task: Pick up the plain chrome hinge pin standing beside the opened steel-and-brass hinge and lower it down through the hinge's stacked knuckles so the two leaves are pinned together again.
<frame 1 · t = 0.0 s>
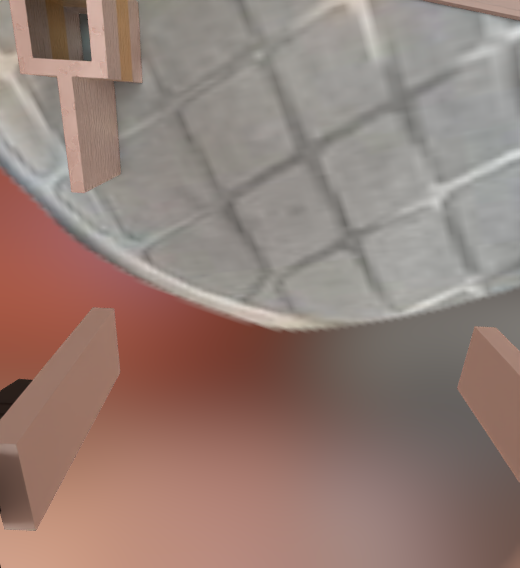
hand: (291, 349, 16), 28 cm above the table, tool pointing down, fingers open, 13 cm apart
hinge: (105, 42, 37), on the table
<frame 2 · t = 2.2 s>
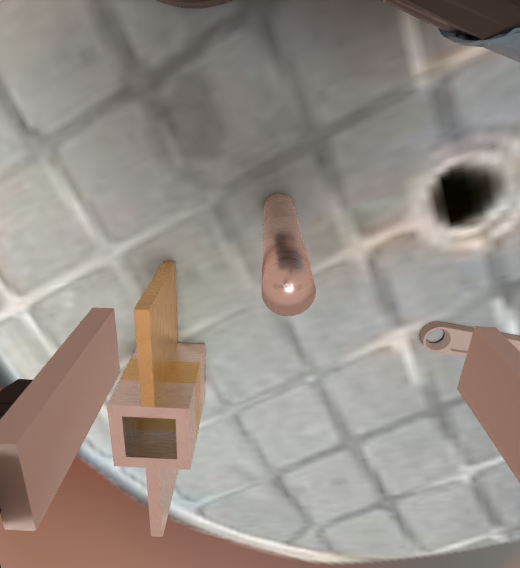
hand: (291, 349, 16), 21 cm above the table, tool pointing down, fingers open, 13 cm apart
hinge pin: (279, 209, 35), on the table
hinge: (173, 369, 41), on the table
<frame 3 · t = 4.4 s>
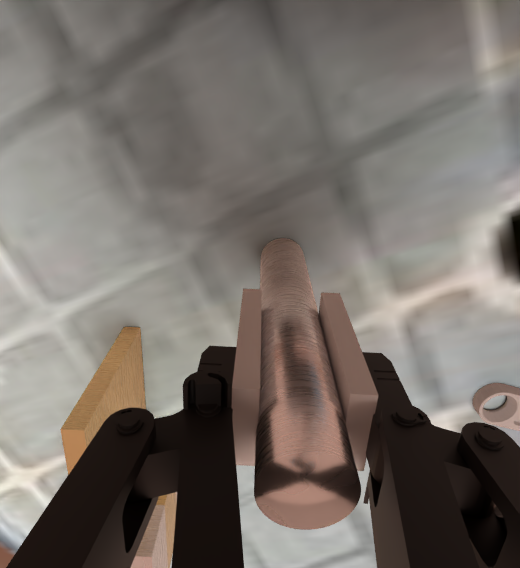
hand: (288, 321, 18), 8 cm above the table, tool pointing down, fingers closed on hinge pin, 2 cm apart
hinge pin: (282, 258, 25), on the table, touching gripper
hinge: (142, 460, 31), on the table
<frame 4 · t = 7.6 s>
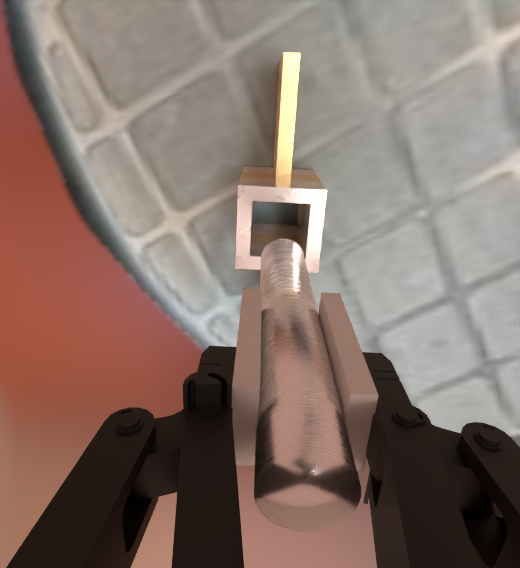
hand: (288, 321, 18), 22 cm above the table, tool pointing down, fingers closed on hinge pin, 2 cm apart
hinge pin: (282, 259, 25), point 15 cm above the table, touching gripper
hinge: (276, 202, 38), on the table
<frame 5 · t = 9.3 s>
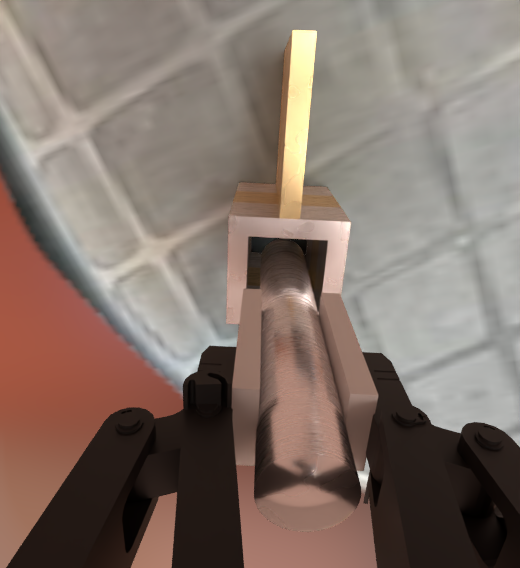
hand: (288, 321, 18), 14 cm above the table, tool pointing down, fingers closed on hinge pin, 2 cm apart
hinge pin: (282, 259, 25), point 6 cm above the table, touching gripper
hinge: (280, 227, 30), on the table
when the fingers open (11 cm above the table, at t = 10.9 s): hinge pin drops 4 cm, resting in hinge.
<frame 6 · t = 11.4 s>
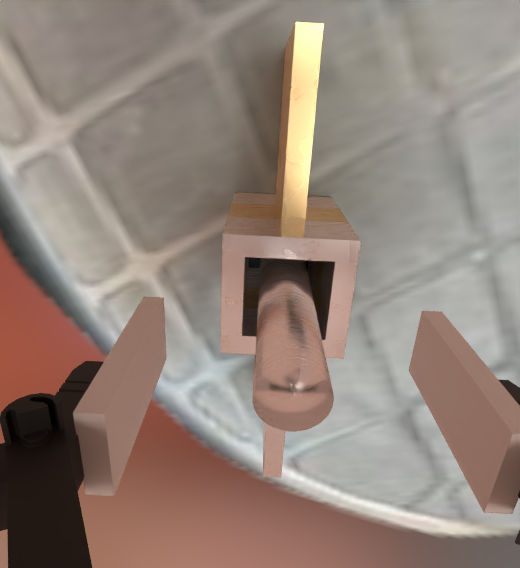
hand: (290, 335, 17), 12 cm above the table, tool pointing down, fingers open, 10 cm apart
hinge pin: (281, 240, 28), resting in hinge
hinge: (280, 240, 28), on the table
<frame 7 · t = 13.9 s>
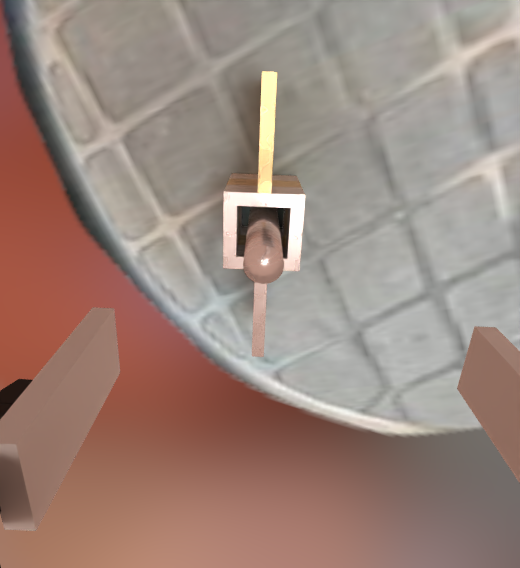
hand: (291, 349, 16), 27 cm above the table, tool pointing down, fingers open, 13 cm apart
hinge pin: (263, 206, 41), resting in hinge
hinge: (262, 206, 41), on the table
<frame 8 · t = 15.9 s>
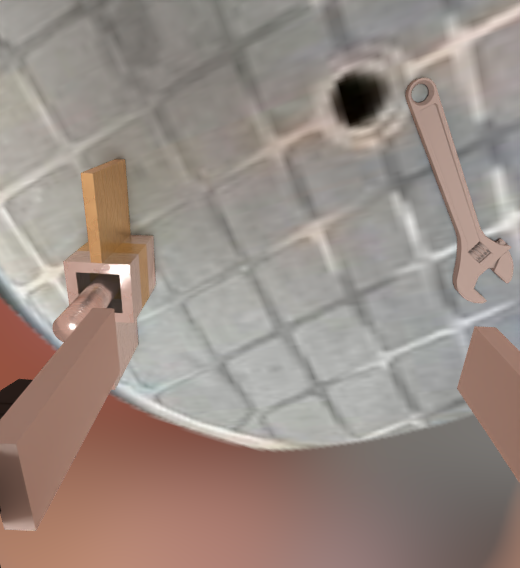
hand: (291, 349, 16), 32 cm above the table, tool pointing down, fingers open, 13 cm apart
hinge pin: (128, 259, 48), resting in hinge
hinge: (127, 259, 48), on the table
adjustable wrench: (459, 195, 46), on the table
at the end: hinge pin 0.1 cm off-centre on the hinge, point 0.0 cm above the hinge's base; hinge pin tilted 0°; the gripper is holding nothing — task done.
